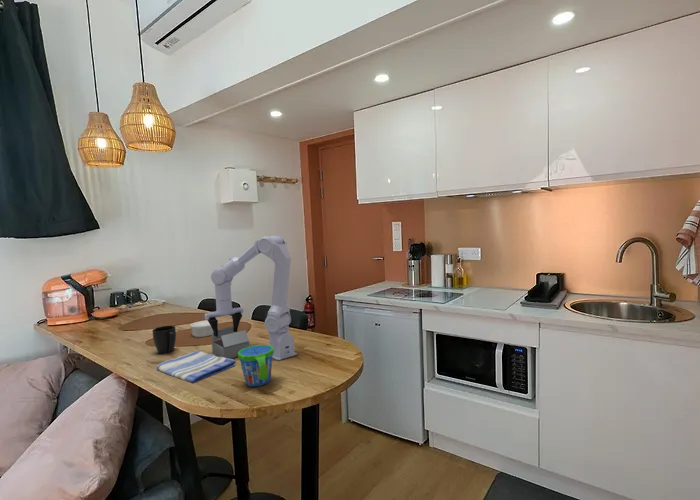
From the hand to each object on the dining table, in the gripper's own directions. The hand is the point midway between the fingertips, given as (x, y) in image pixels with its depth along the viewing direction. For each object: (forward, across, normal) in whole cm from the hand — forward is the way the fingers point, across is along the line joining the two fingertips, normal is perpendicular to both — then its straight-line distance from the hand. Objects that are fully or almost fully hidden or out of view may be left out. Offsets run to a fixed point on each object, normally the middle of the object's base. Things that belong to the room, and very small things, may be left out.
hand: (225, 334), depth 143 cm
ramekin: (+8, -2, -32) cm, 33 cm away
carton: (+7, 0, +4) cm, 8 cm away
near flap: (0, 0, +9) cm, 9 cm away
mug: (+8, +17, -17) cm, 26 cm away
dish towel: (+8, +14, +9) cm, 18 cm away
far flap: (0, 0, -2) cm, 2 cm away
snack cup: (+7, +4, +37) cm, 38 cm away
